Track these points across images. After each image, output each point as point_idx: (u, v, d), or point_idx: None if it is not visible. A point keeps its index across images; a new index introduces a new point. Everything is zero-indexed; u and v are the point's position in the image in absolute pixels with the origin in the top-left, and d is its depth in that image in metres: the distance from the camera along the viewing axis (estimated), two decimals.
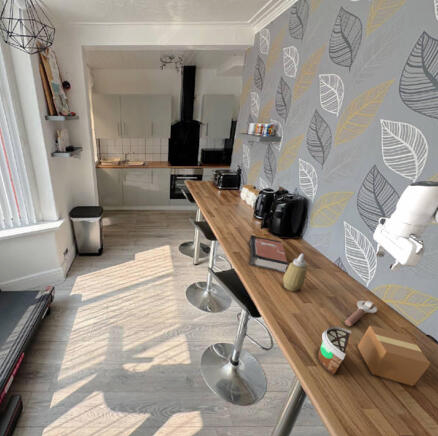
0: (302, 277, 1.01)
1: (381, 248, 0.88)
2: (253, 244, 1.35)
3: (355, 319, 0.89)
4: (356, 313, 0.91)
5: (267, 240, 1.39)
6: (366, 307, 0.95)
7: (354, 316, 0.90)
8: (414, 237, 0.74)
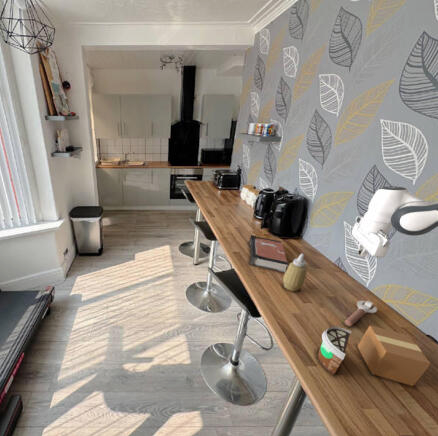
0: (302, 277, 1.01)
1: (362, 247, 0.99)
2: (253, 244, 1.35)
3: (355, 319, 0.89)
4: (356, 313, 0.91)
5: (267, 240, 1.39)
6: (366, 307, 0.95)
7: (354, 316, 0.90)
8: (381, 232, 0.88)
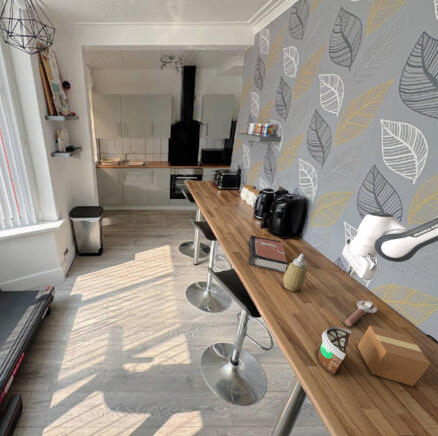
0: (302, 277, 1.01)
1: (351, 268, 1.04)
2: (253, 244, 1.35)
3: (355, 319, 0.89)
4: (356, 313, 0.91)
5: (267, 240, 1.39)
6: (366, 307, 0.95)
7: (354, 316, 0.90)
8: (369, 256, 0.93)
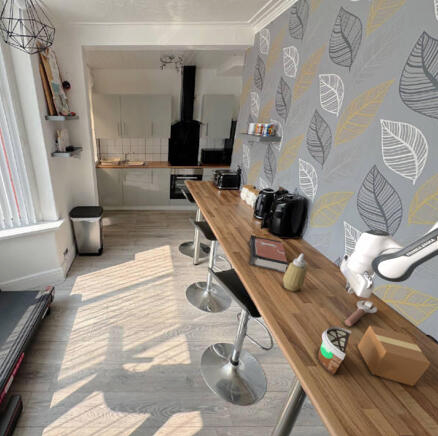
0: (302, 277, 1.01)
1: (349, 284, 1.04)
2: (253, 244, 1.35)
3: (355, 319, 0.89)
4: (356, 313, 0.91)
5: (267, 240, 1.39)
6: (366, 307, 0.95)
7: (354, 316, 0.90)
8: (366, 274, 0.93)
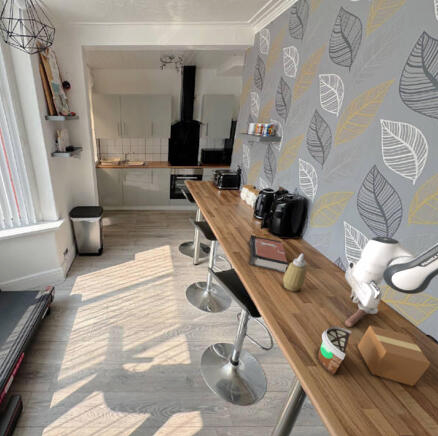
0: (302, 277, 1.01)
1: (355, 293, 0.99)
2: (253, 244, 1.35)
3: (355, 320, 0.88)
4: (357, 314, 0.91)
5: (267, 240, 1.39)
6: (367, 308, 0.95)
7: (354, 317, 0.89)
8: (373, 284, 0.88)
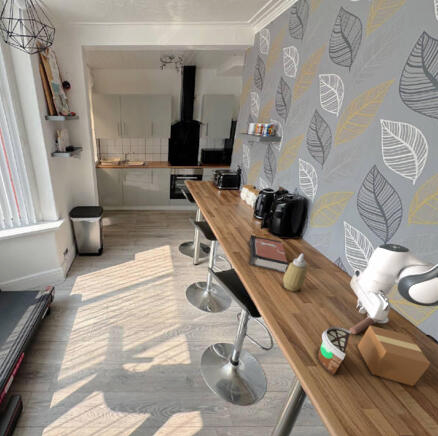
0: (302, 277, 1.01)
1: (361, 303, 0.94)
2: (253, 244, 1.35)
3: (361, 327, 0.85)
4: (363, 322, 0.87)
5: (267, 240, 1.39)
6: None
7: (360, 324, 0.86)
8: (382, 294, 0.83)
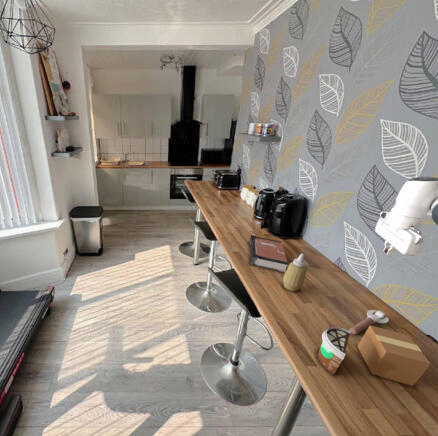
0: (302, 277, 1.01)
1: (388, 245, 0.91)
2: (253, 244, 1.35)
3: (361, 327, 0.85)
4: (363, 322, 0.87)
5: (267, 240, 1.39)
6: (376, 317, 0.91)
7: (360, 324, 0.86)
8: (413, 228, 0.80)
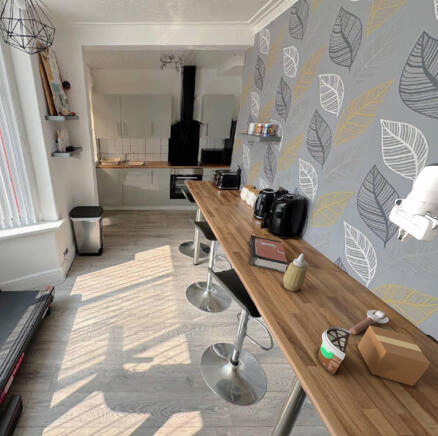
0: (302, 277, 1.01)
1: (403, 232, 0.91)
2: (253, 244, 1.35)
3: (361, 327, 0.85)
4: (363, 322, 0.87)
5: (267, 240, 1.39)
6: (376, 317, 0.91)
7: (360, 324, 0.86)
8: (430, 214, 0.80)
